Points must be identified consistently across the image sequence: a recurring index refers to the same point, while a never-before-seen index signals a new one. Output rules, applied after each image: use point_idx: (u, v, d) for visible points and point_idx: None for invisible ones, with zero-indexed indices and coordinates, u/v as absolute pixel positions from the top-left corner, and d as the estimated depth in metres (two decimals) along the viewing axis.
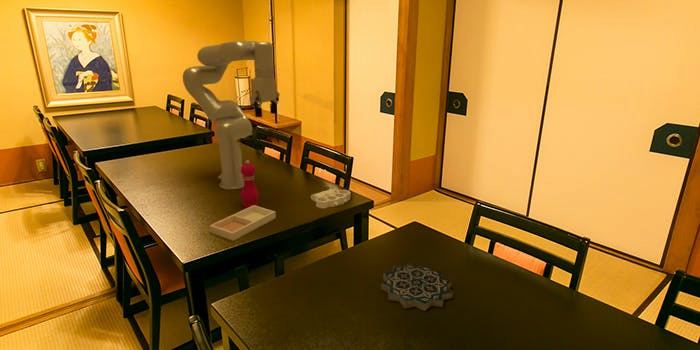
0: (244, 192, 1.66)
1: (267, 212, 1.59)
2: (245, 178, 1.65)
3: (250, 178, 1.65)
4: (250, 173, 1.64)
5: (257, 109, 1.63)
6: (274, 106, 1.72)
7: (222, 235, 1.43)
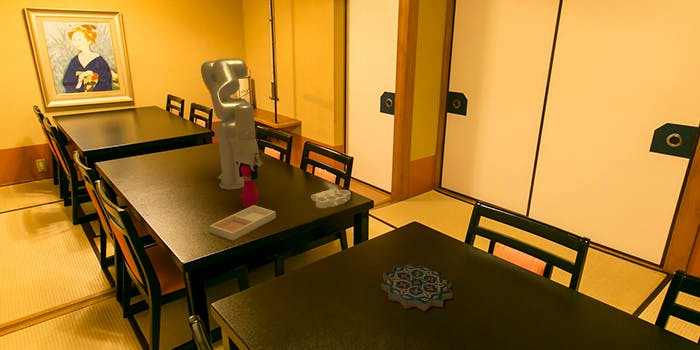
0: (244, 192, 1.66)
1: (267, 212, 1.59)
2: (245, 178, 1.65)
3: (250, 178, 1.65)
4: (250, 173, 1.64)
5: (256, 171, 1.64)
6: None
7: (222, 235, 1.43)
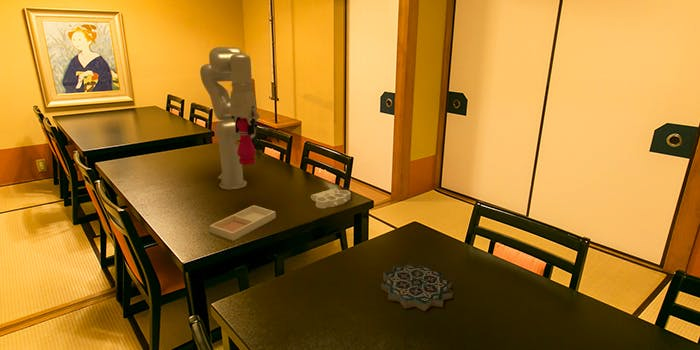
0: (240, 148, 1.61)
1: (267, 212, 1.59)
2: (242, 133, 1.59)
3: (247, 133, 1.59)
4: (247, 128, 1.58)
5: (253, 126, 1.58)
6: None
7: (222, 235, 1.43)
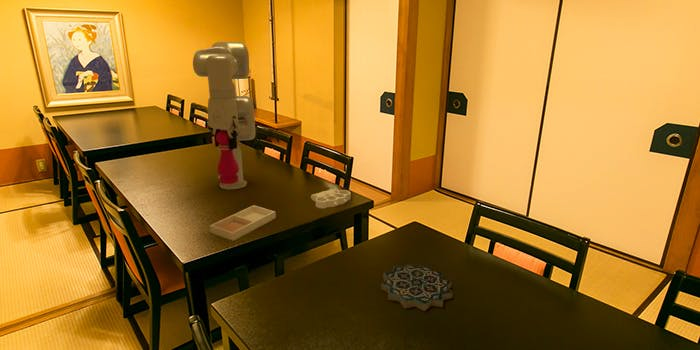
0: (220, 165, 1.37)
1: (267, 212, 1.59)
2: (222, 147, 1.35)
3: (228, 147, 1.36)
4: (227, 141, 1.35)
5: (235, 139, 1.35)
6: None
7: (222, 235, 1.43)
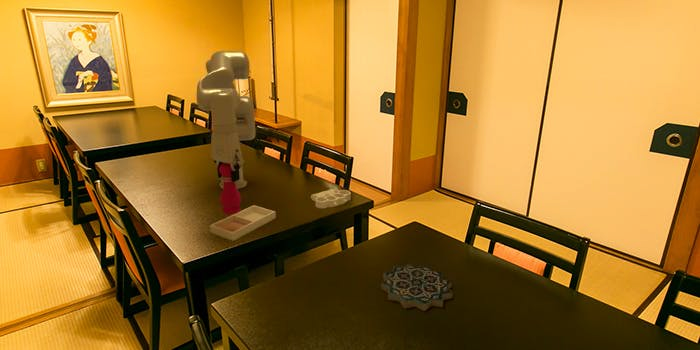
0: (223, 196, 1.41)
1: (267, 212, 1.59)
2: (224, 179, 1.39)
3: (230, 179, 1.39)
4: (230, 173, 1.38)
5: (237, 172, 1.39)
6: None
7: (222, 235, 1.43)
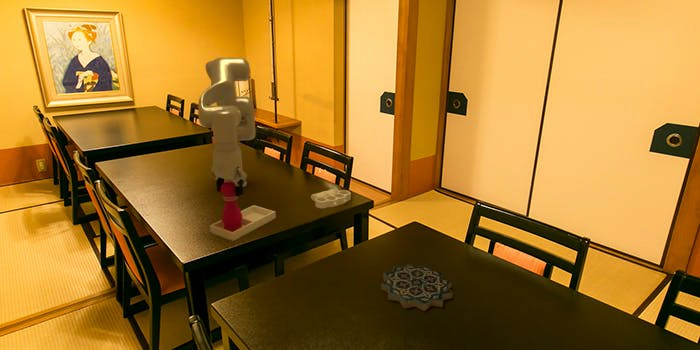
0: (225, 214, 1.44)
1: (267, 212, 1.59)
2: (226, 199, 1.42)
3: (232, 198, 1.42)
4: (232, 193, 1.41)
5: (241, 187, 1.40)
6: (223, 181, 1.45)
7: (222, 235, 1.43)
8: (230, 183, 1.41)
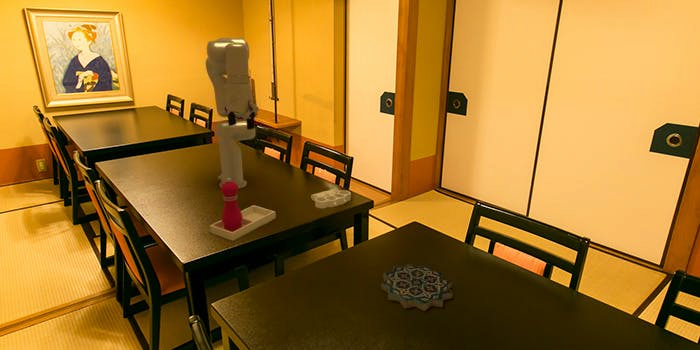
0: (225, 214, 1.44)
1: (267, 212, 1.59)
2: (226, 199, 1.42)
3: (232, 198, 1.42)
4: (232, 193, 1.41)
5: (253, 120, 1.45)
6: (234, 116, 1.51)
7: (222, 235, 1.43)
8: (230, 183, 1.41)
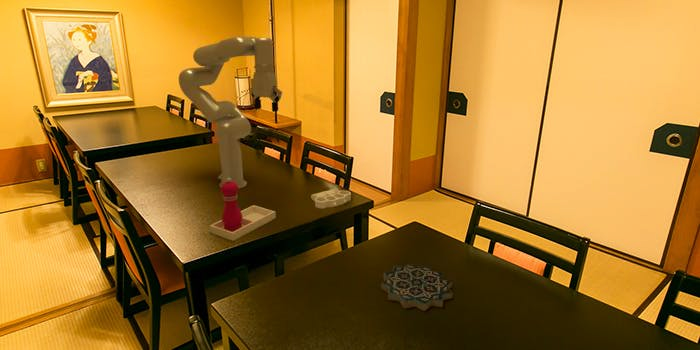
0: (225, 214, 1.44)
1: (267, 212, 1.59)
2: (226, 199, 1.42)
3: (232, 198, 1.42)
4: (232, 193, 1.41)
5: (277, 103, 1.68)
6: (259, 101, 1.74)
7: (222, 235, 1.43)
8: (230, 183, 1.41)
